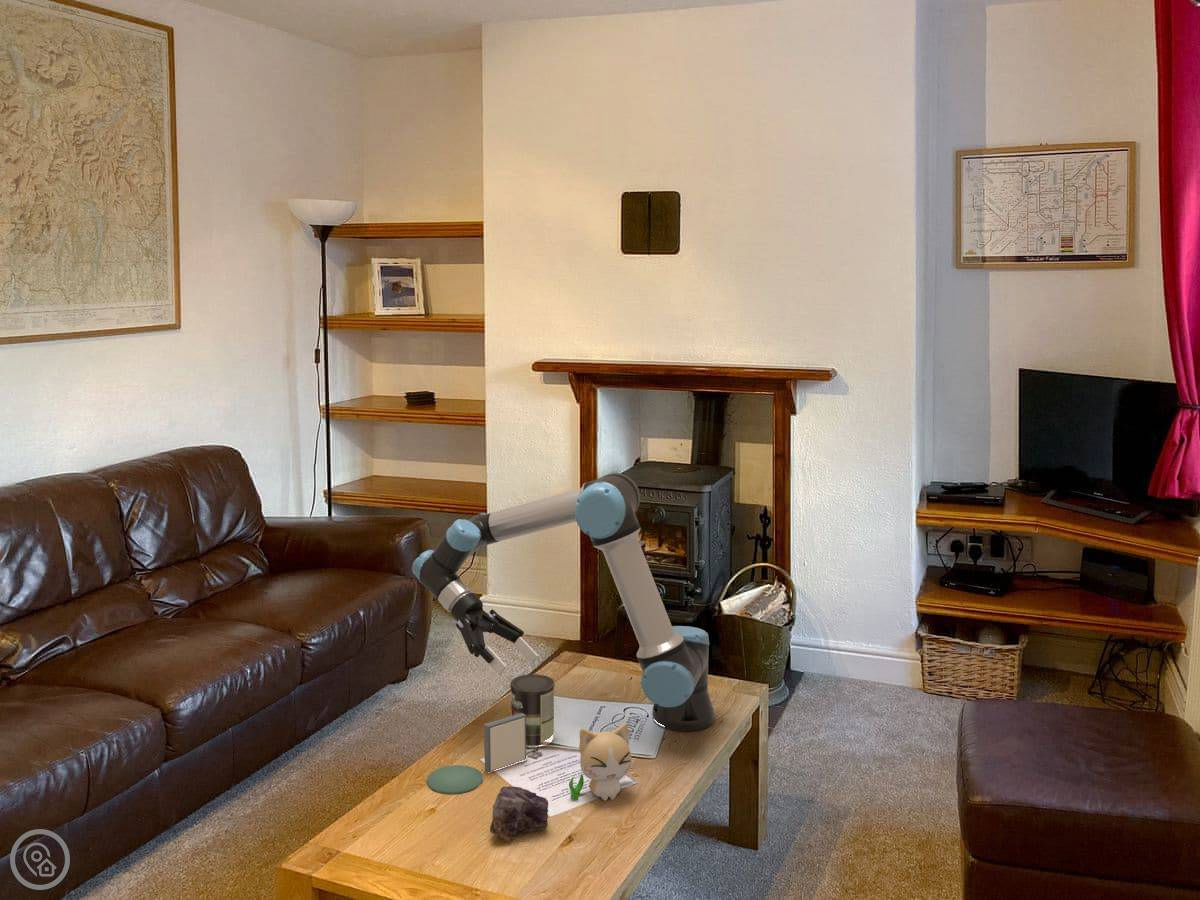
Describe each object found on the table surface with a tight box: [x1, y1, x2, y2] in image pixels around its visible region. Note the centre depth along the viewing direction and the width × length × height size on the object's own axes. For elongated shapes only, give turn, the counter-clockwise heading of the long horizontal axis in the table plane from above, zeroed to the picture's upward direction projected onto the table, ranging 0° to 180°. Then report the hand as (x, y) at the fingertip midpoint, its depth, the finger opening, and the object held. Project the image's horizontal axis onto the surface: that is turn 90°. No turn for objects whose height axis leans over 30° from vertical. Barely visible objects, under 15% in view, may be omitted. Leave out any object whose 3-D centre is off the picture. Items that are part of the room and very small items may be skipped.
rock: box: [489, 785, 549, 842], centre depth 222 cm, size 12×9×10 cm
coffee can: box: [509, 673, 555, 747], centre depth 262 cm, size 10×10×14 cm
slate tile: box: [483, 713, 527, 773], centre depth 249 cm, size 2×10×11 cm, turn 128°
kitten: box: [568, 722, 633, 802], centre depth 236 cm, size 15×10×15 cm, turn 106°
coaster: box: [426, 764, 484, 795], centre depth 243 cm, size 12×12×1 cm
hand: (519, 665), depth 260 cm, fingers open, 13 cm apart
